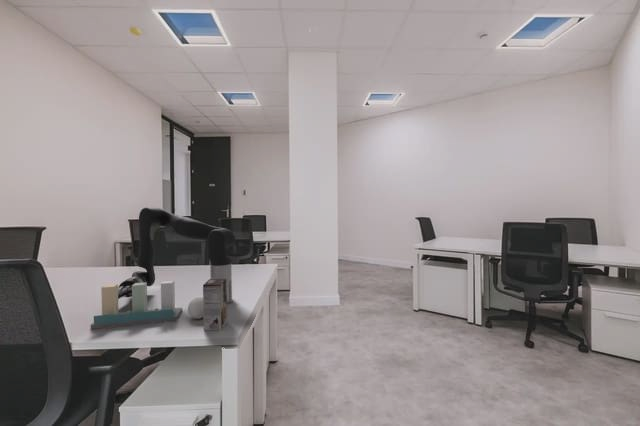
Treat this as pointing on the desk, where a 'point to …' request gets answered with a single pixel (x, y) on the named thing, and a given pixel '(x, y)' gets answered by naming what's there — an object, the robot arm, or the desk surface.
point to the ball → (196, 308)
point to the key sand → (110, 299)
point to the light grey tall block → (167, 295)
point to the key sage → (139, 297)
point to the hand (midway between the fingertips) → (115, 297)
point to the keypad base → (135, 318)
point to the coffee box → (215, 304)
